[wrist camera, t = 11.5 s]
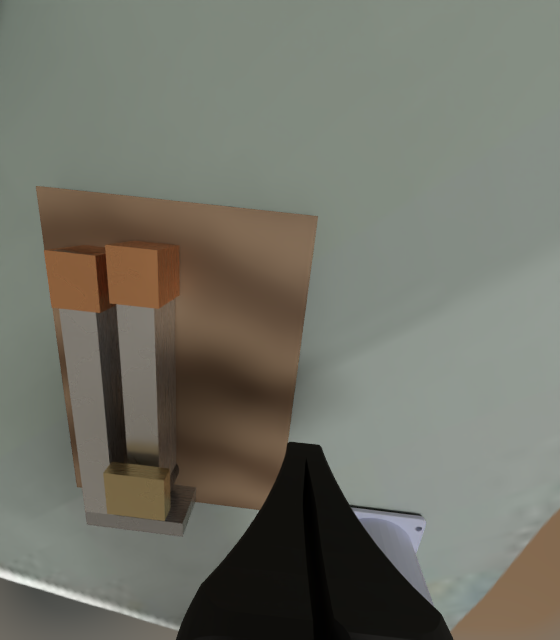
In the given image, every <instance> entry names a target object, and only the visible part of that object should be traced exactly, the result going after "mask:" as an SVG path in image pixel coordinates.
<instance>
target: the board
mask: <svg viewBox="0 0 560 640" xmlns="http://www.w3.org/2000/svg"><path fill="white" fill-rule="evenodd" d="M36 191H37V198H38V205H39V213H40V220H41V227H42V235H43V242H44V249H45V250H48V249H56V248H64V247H72V246H80V245H89V246H98V247H105V245H107V244H114V243H121V242H128V241H144V242H154V243H163V244H172V245H179V271H180V295H179V296H178V297H176V298H175V369H176V463H177V465H178V467H179V474H178V476H177V478H176V481H175V483H174V484H175V485H183V486H191V487H196V501H195V502H201V503H209V504H217V505H225V506H233V507H241V508H249V509H256V510H260V509H261V507H262V506H263V504H264V502H265V500H266V498H267V497H268V495H269V493H270V491H271V489H272V487H273V485H274V483H275V480H276V478H277V476H278V473H279V471H280V469H281V466H282V463H283V460H284V457H285V453H286V447H287V443H288V437H289V429H290V422H291V414H292V407H293V399H294V392H295V384H296V377H297V369H298V362H299V354H300V347H301V339H302V332H303V324H304V317H305V309H306V302H307V294H308V287H309V279H310V272H311V265H312V257H313V250H314V242H315V235H316V227H317V220H318V216H311V215H302V214H292V213H283V212H274V211H264V210H255V209H246V208H236V207H227V206H218V205H208V204H199V203H190V202H180V201H171V200H162V199H152V198H143V197H134V196H124V195H115V194H106V193H96V192H87V191H78V190H69V189H59V188H50V187H41V186H36ZM53 315H54V322H55V330H56V337H57V344H58V351H59V359H60V366H61V373H62V381H63V388H64V395H65V403H66V410H67V417H68V424H69V432H70V439H71V446H72V454H73V461H74V468H75V476H76V483H77V487H81V488H82V482H81V474H80V467H79V459H78V451H77V444H76V436H75V428H74V421H73V413H72V405H71V398H70V390H69V382H68V374H67V367H66V359H65V351H64V344H63V336H62V328H61V321H60V313H59V308H53Z"/></svg>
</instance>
